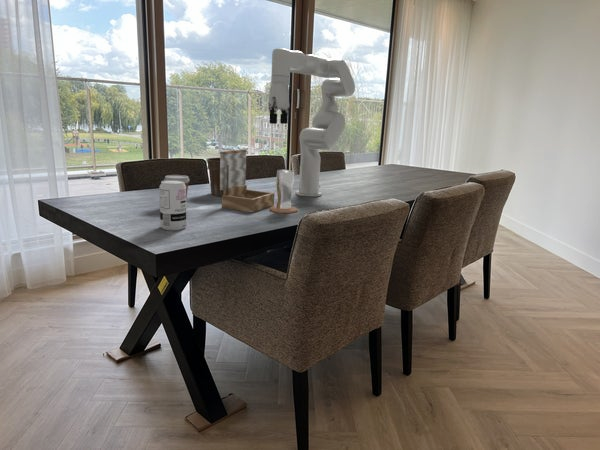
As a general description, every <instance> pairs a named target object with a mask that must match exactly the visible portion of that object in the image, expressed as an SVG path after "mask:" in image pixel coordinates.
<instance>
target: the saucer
mask: <svg viewBox="0 0 600 450" xmlns="http://www.w3.org/2000/svg"><path fill="white" fill-rule="evenodd" d="M276 206H277V205H272V206H269V210H270V212H272V213H277V214H294V213H297V212H298V207H296V206H292V205H291V207H292V208H291V209H289V210H281V209H277V208H276Z"/></svg>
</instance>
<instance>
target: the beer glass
mask: <svg viewBox="0 0 600 450" xmlns="http://www.w3.org/2000/svg"><path fill="white" fill-rule="evenodd" d="M275 179H276V185H275V186H276V194H277V203H276V205H275V206H276V208H277V209H281V210H289V209H291V208H292V207H293V206H292V196H293V195H292V194H293V191H294V183H295V171H294V170H289V169H278V170H277V171H276V178H275ZM291 206H292V207H291Z"/></svg>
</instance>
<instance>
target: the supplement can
mask: <svg viewBox="0 0 600 450" xmlns="http://www.w3.org/2000/svg"><path fill="white" fill-rule="evenodd" d="M160 182H161V183H160V185H159V217H160V218H159V220H160V221H159V222H160V227H161V229H163V230H166V231H181V230H184V229H185V227H187V225H188V224H187V199H186V185H185V184H184V182H183V181H178V180H166V181H164V180H162V181H160Z"/></svg>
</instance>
